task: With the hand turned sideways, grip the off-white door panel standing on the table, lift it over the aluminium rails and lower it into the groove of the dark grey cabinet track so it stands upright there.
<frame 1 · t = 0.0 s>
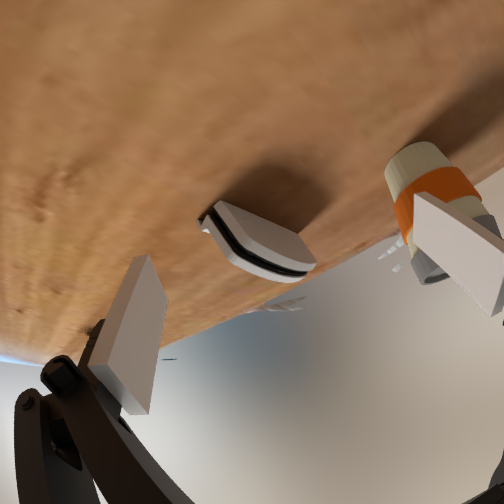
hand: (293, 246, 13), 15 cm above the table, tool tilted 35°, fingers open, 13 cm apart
reusable coffee cup: (411, 162, 34), on the table
white and black console: (258, 221, 41), on the table
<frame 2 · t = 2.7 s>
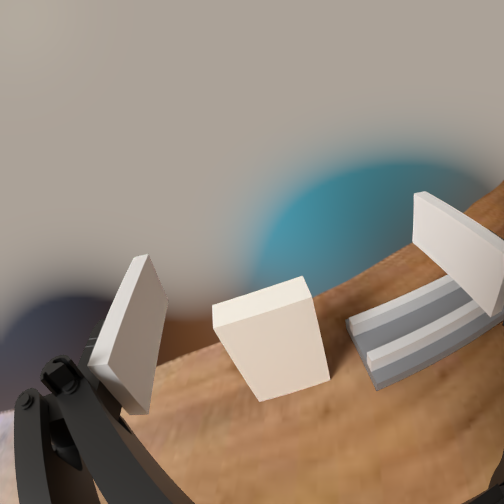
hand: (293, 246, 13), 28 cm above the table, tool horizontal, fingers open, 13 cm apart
track: (431, 325, 36), on the table
door panel: (292, 381, 38), on the table
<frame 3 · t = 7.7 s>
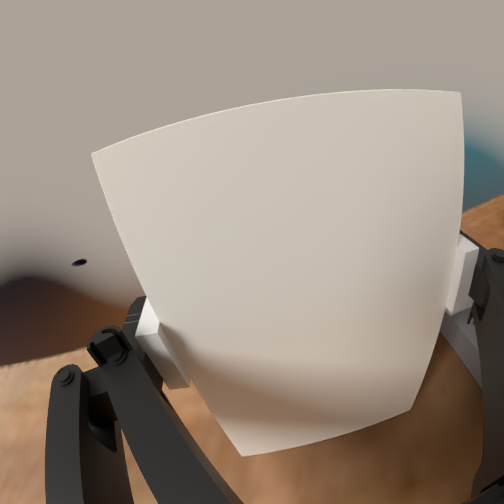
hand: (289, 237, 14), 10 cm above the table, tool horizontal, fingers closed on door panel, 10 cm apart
door panel: (323, 414, 15), on the table, touching gripper
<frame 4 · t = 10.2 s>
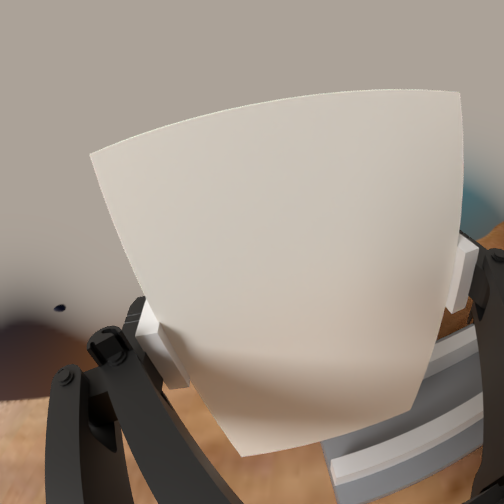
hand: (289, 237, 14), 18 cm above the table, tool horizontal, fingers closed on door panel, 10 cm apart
track: (446, 402, 19), on the table
door panel: (322, 414, 15), point 8 cm above the table, touching gripper
when the fingers open (12 cm above the table, at t = 12.9 s): door panel stays where it is, resting on track.
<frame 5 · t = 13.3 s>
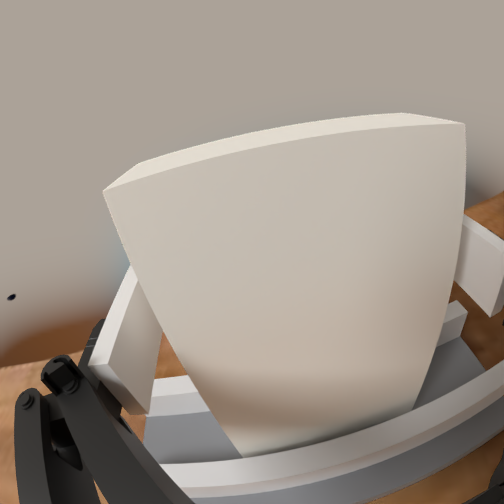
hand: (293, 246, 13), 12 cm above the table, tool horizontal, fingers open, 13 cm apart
track: (324, 433, 16), on the table
door panel: (324, 421, 15), point 2 cm above the table, touching track
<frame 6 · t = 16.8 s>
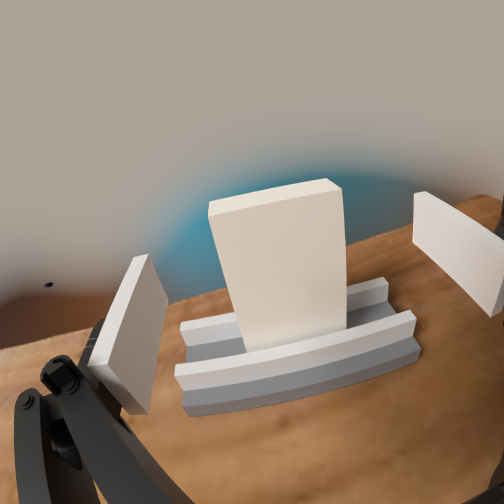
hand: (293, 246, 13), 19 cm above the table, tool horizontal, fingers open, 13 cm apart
track: (296, 353, 31), on the table
door panel: (295, 342, 30), point 2 cm above the table, touching track
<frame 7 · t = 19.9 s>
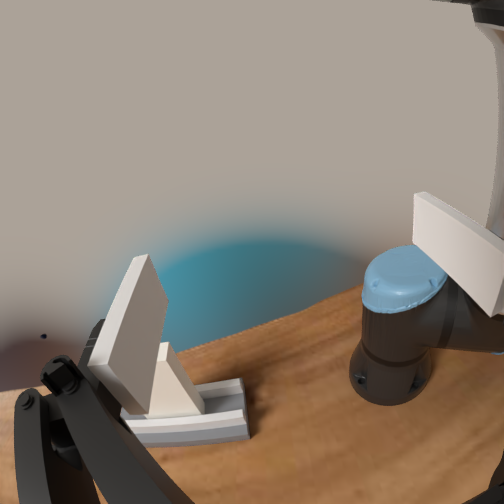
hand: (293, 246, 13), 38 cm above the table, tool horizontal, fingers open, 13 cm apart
track: (181, 418, 46), on the table
door panel: (177, 413, 45), point 2 cm above the table, touching track
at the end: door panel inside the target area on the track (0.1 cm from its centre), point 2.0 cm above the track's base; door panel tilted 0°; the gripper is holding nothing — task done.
